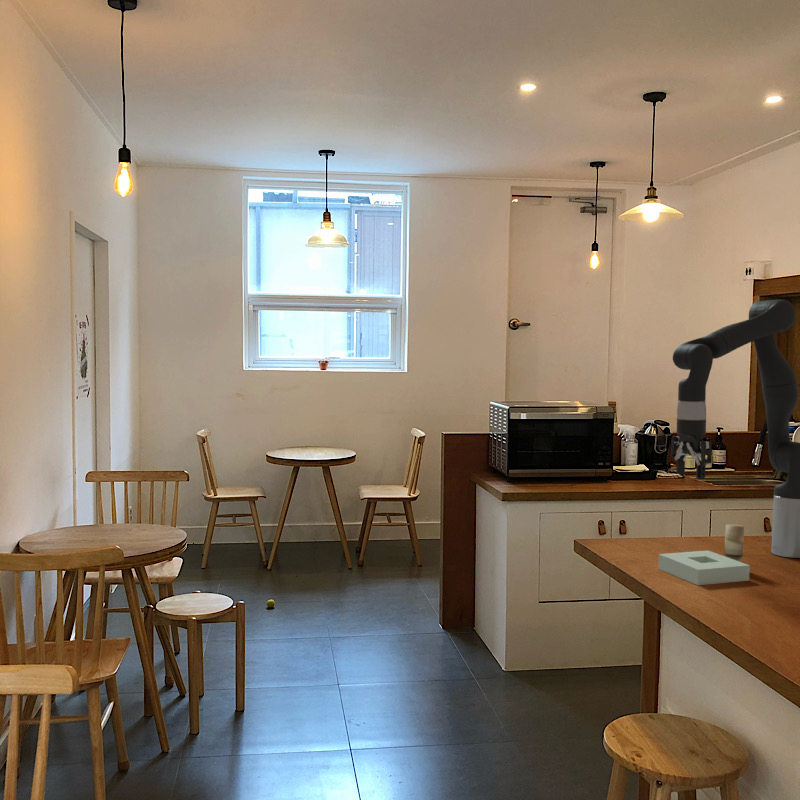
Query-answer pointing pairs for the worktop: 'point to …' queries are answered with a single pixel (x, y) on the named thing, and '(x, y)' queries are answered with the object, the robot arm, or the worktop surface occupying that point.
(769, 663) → the worktop surface
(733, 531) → the peg
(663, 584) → the worktop surface
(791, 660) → the worktop surface
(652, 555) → the worktop surface
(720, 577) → the board
